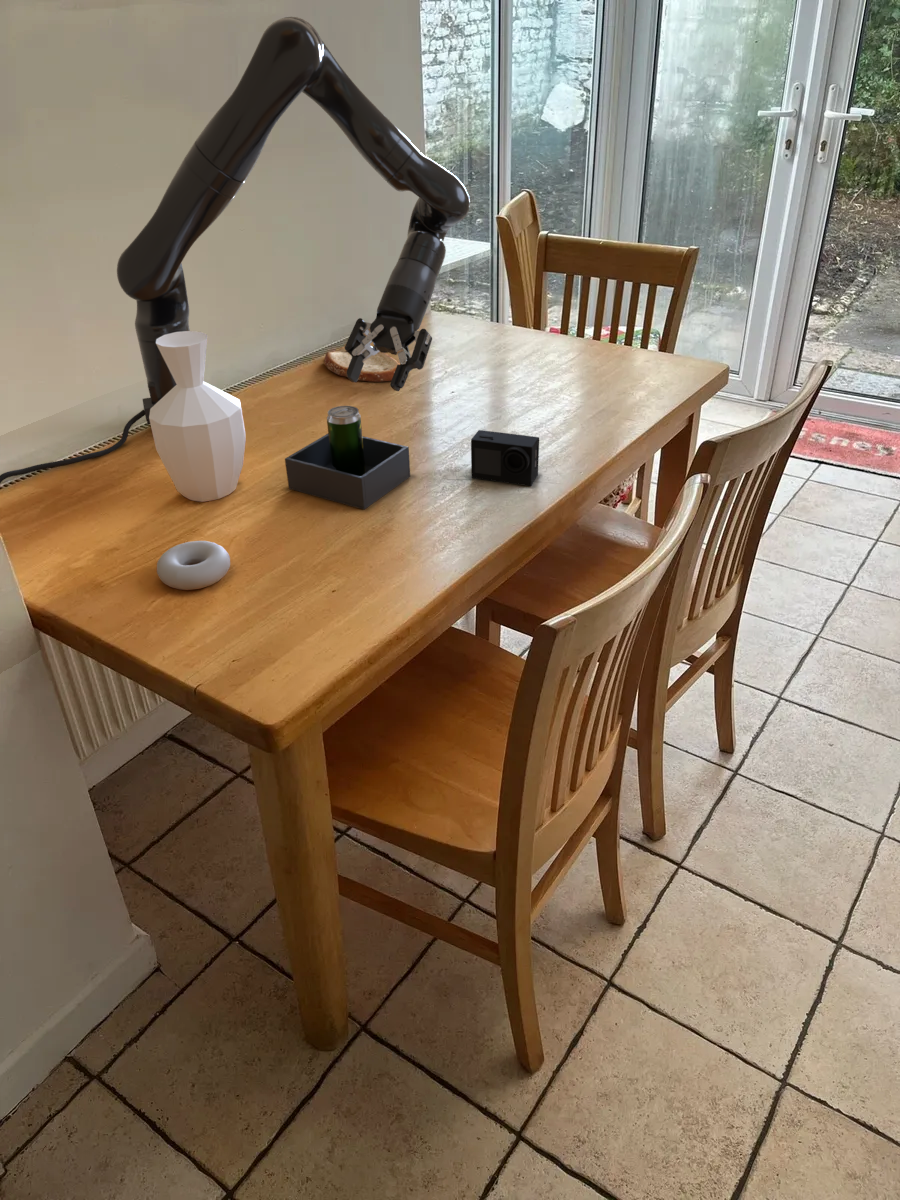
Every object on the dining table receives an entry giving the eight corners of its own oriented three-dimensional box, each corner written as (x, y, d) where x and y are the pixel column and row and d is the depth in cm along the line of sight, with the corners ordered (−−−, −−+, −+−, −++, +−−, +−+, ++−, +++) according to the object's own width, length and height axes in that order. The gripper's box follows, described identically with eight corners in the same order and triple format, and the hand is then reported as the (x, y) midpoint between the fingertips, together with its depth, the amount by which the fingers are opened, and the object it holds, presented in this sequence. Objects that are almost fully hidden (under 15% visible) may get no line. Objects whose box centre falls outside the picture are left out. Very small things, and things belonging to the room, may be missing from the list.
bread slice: (403, 381, 186) (402, 364, 184) (317, 383, 186) (315, 366, 184) (407, 353, 200) (406, 336, 198) (328, 355, 201) (326, 338, 199)
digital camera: (468, 481, 147) (467, 442, 143) (478, 467, 151) (478, 429, 147) (529, 490, 144) (530, 449, 140) (538, 475, 148) (539, 436, 144)
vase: (178, 518, 139) (143, 361, 125) (157, 482, 149) (123, 334, 135) (266, 497, 144) (242, 343, 130) (240, 464, 154) (216, 319, 140)
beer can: (343, 490, 144) (335, 421, 137) (327, 478, 148) (320, 410, 141) (372, 481, 146) (366, 412, 140) (356, 470, 150) (350, 402, 144)
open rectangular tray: (364, 509, 139) (361, 478, 136) (288, 488, 146) (284, 458, 143) (410, 476, 149) (408, 446, 146) (337, 458, 155) (334, 429, 152)
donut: (236, 555, 129) (165, 558, 129) (232, 534, 127) (161, 537, 127) (227, 593, 121) (152, 596, 120) (223, 571, 119) (147, 575, 118)
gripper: (361, 277, 147) (326, 367, 145) (435, 287, 141) (399, 381, 139) (382, 302, 153) (348, 387, 152) (453, 312, 147) (418, 402, 146)
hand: (372, 384), depth 145 cm, fingers open, 8 cm apart
